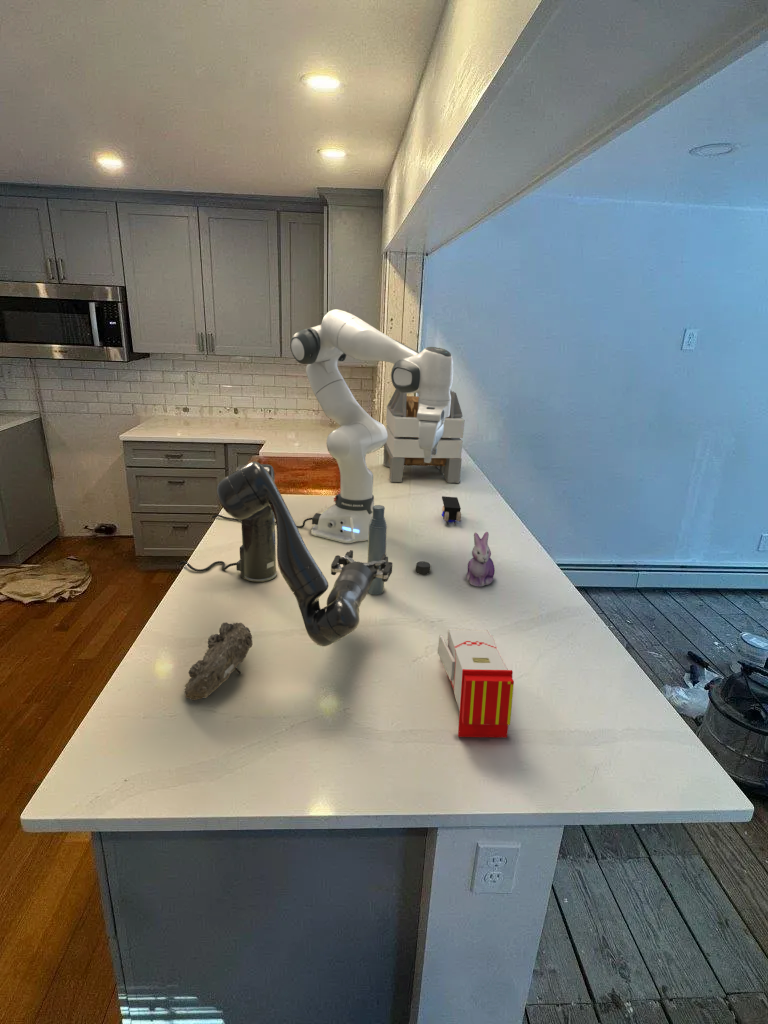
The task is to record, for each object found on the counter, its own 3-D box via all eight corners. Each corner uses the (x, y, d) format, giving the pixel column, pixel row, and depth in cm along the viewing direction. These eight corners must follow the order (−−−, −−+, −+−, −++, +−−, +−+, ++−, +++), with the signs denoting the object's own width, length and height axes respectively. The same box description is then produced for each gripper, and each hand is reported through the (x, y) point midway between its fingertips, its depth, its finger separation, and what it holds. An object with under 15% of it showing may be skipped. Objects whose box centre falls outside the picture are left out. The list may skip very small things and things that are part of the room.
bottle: (373, 584, 162) (377, 502, 154) (387, 590, 160) (391, 506, 151) (362, 590, 159) (365, 506, 150) (376, 596, 156) (380, 511, 148)
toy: (488, 613, 130) (523, 677, 101) (484, 667, 133) (517, 744, 104) (435, 612, 130) (455, 676, 101) (432, 666, 133) (451, 743, 103)
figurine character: (461, 530, 209) (456, 512, 222) (463, 512, 205) (458, 495, 219) (443, 530, 208) (439, 512, 222) (445, 511, 205) (440, 494, 218)
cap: (423, 576, 169) (423, 568, 168) (412, 571, 172) (413, 563, 171) (432, 572, 172) (433, 564, 171) (422, 567, 175) (422, 559, 174)
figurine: (477, 590, 161) (482, 542, 156) (457, 575, 170) (461, 529, 165) (503, 584, 166) (509, 537, 161) (482, 570, 174) (487, 525, 169)
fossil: (205, 625, 130) (252, 594, 125) (233, 653, 133) (280, 624, 128) (163, 694, 111) (216, 661, 106) (197, 725, 114) (251, 694, 109)
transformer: (382, 463, 289) (386, 382, 275) (445, 464, 293) (451, 384, 279) (390, 482, 257) (394, 392, 243) (460, 483, 261) (468, 394, 247)
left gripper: (384, 574, 126) (396, 545, 141) (322, 566, 128) (341, 538, 143) (382, 603, 128) (395, 572, 143) (322, 595, 131) (340, 565, 145)
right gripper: (429, 402, 166) (425, 449, 170) (415, 414, 147) (412, 465, 151) (450, 404, 164) (446, 451, 169) (439, 416, 145) (435, 468, 150)
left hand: (368, 555), depth 143 cm, fingers open, 8 cm apart
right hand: (430, 458), depth 160 cm, fingers open, 8 cm apart
